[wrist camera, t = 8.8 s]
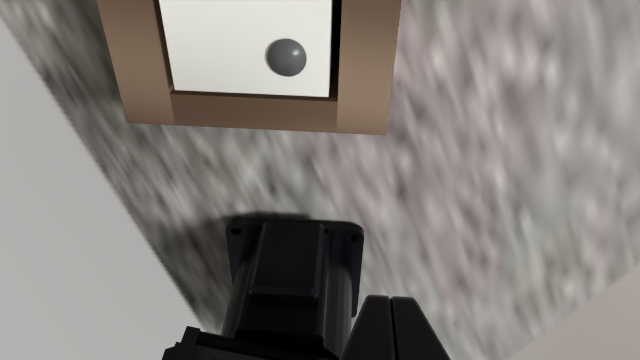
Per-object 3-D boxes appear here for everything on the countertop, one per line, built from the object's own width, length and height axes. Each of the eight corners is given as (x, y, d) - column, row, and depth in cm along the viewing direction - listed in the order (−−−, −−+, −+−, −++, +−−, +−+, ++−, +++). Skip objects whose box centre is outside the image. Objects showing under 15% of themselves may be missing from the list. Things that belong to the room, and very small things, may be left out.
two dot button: (331, 63, 18) (328, 98, 16) (194, 57, 19) (173, 91, 16) (337, -92, 15) (333, -73, 13) (172, -97, 16) (143, -79, 13)
